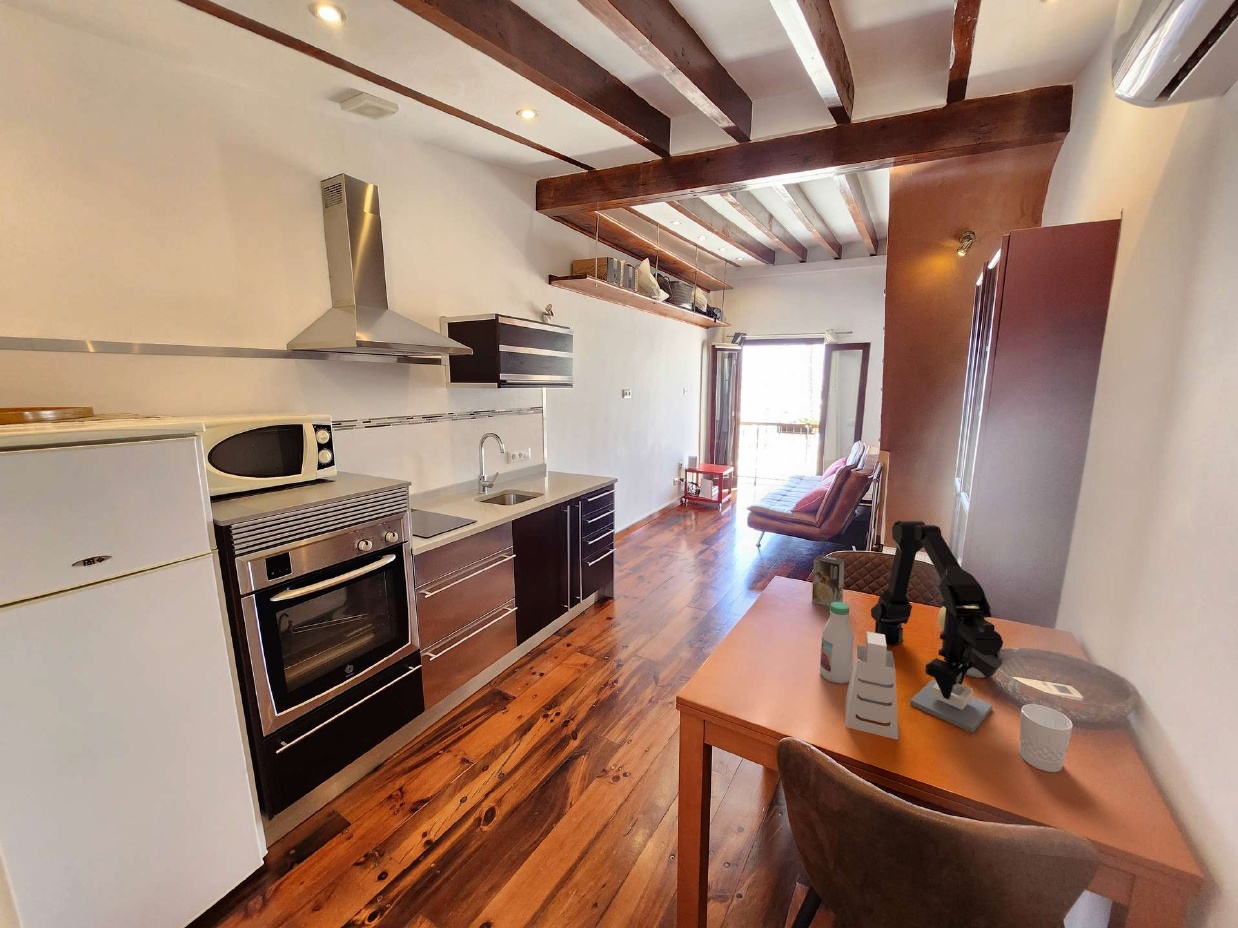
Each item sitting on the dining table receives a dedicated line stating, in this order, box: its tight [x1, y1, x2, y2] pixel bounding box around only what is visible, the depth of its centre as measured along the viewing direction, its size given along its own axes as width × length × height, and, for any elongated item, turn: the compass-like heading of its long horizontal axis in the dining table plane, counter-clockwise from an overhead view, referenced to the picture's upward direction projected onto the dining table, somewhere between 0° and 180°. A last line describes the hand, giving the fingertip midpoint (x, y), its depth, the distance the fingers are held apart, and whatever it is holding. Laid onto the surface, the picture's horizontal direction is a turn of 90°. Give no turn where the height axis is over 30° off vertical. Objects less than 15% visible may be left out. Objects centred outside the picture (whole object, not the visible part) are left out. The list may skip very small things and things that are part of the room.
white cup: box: [1019, 703, 1073, 773], centre depth 102 cm, size 8×8×10 cm
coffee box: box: [811, 554, 846, 608], centre depth 175 cm, size 9×6×16 cm
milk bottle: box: [819, 602, 855, 684], centre depth 131 cm, size 8×8×20 cm
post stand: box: [909, 679, 994, 734], centre depth 119 cm, size 13×13×5 cm
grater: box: [845, 631, 899, 741], centre depth 114 cm, size 10×10×20 cm
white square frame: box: [931, 683, 974, 710], centre depth 119 cm, size 6×6×2 cm
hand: (951, 692), depth 119 cm, fingers closed on white square frame, 6 cm apart
